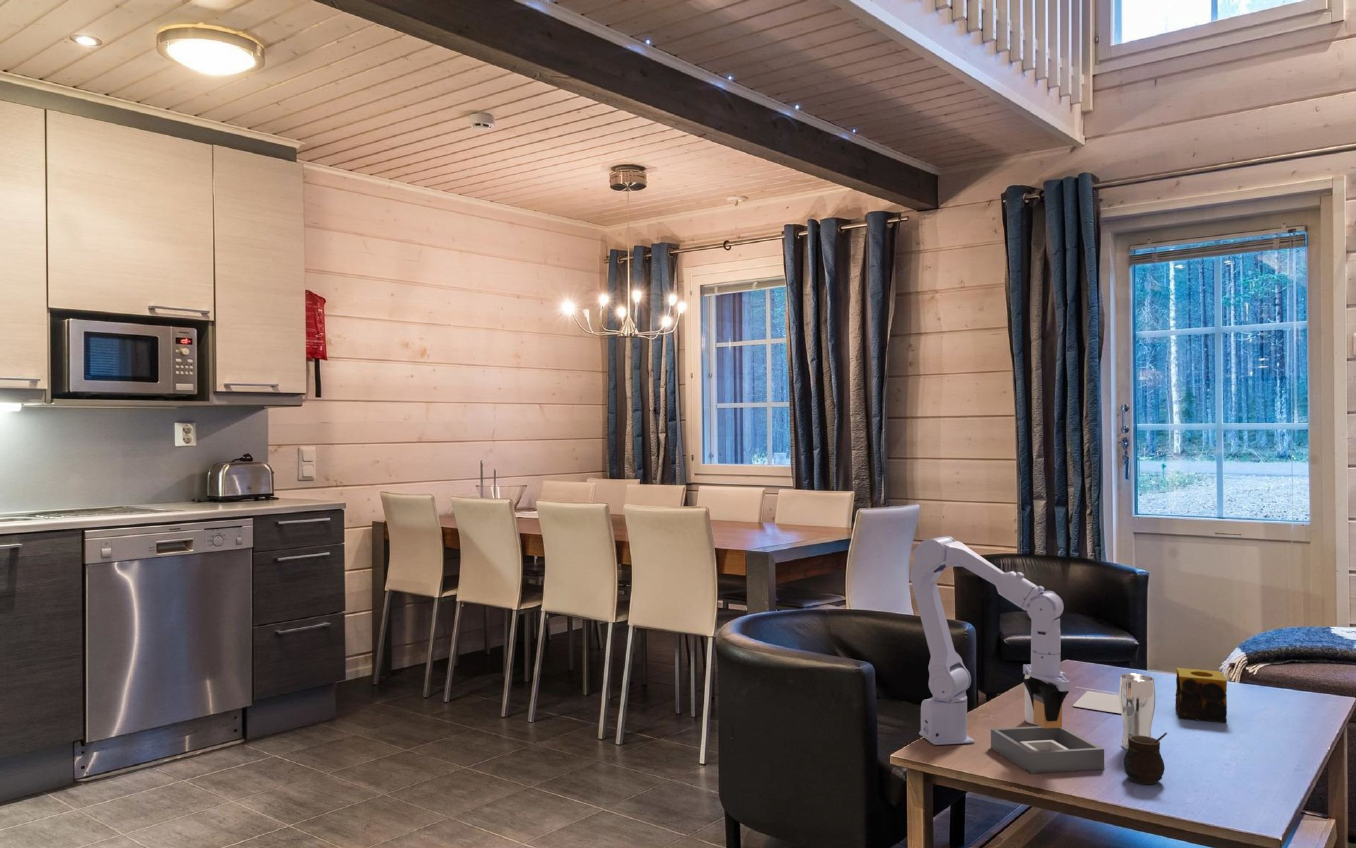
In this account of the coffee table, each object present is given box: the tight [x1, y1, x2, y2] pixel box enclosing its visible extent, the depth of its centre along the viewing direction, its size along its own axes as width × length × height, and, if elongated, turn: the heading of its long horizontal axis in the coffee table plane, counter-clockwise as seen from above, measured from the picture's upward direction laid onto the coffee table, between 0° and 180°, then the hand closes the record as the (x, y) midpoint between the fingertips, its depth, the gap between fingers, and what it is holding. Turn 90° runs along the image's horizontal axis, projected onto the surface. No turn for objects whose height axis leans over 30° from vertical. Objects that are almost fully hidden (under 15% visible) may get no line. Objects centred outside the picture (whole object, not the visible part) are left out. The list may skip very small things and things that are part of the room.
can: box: [1024, 674, 1039, 726], centre depth 225 cm, size 6×6×12 cm
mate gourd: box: [1123, 732, 1168, 785], centre depth 188 cm, size 7×8×10 cm
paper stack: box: [1071, 686, 1122, 715], centre depth 246 cm, size 23×25×1 cm
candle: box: [1174, 667, 1228, 724], centre depth 231 cm, size 10×10×10 cm
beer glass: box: [1118, 673, 1156, 750], centre depth 207 cm, size 7×7×15 cm
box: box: [990, 725, 1105, 775], centre depth 200 cm, size 16×16×4 cm
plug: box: [1033, 693, 1063, 728], centre depth 201 cm, size 4×4×6 cm
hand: (1045, 717), depth 200 cm, fingers closed on plug, 4 cm apart
